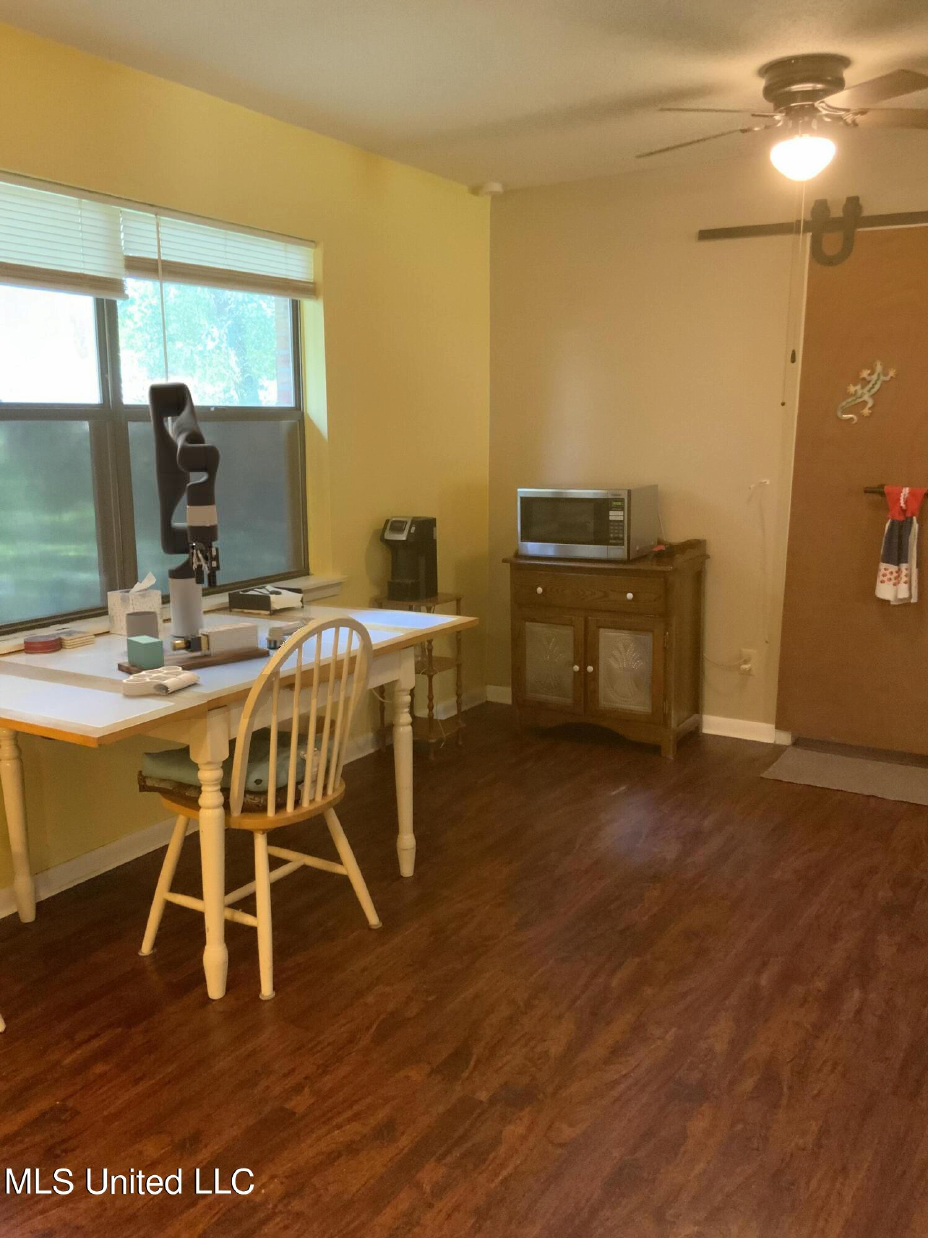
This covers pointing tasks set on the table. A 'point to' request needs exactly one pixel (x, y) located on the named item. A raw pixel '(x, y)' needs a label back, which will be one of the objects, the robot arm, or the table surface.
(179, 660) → the base board
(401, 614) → the table surface
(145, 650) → the teal rectangular block
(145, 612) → the cup
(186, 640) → the plug
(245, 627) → the sleeve
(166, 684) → the knuckle duster
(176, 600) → the robot arm
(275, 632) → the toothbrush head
